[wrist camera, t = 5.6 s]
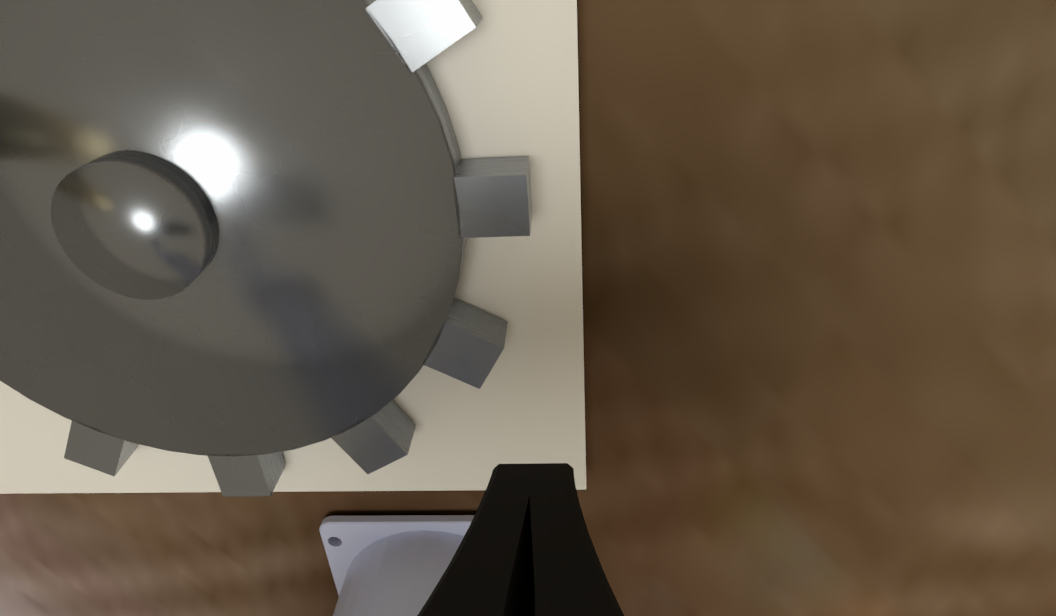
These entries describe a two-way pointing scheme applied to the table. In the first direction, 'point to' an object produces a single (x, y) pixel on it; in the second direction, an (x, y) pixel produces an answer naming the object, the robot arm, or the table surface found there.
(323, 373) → the sprocket
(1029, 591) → the table surface
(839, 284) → the table surface
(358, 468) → the base board
